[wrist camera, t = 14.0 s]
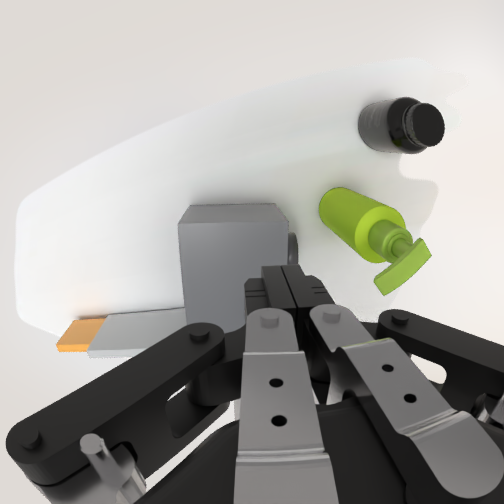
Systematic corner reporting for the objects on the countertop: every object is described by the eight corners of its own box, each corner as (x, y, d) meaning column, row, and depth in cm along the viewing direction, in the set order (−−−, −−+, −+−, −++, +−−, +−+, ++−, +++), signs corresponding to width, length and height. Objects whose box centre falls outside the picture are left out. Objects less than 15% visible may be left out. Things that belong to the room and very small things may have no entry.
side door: (200, 306, 45) (194, 344, 36) (201, 313, 45) (196, 352, 36) (76, 317, 44) (51, 350, 35) (79, 323, 44) (54, 357, 35)
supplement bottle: (376, 161, 40) (423, 169, 29) (347, 120, 38) (389, 114, 27) (408, 133, 39) (460, 135, 28) (381, 94, 37) (430, 82, 26)
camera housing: (283, 300, 46) (298, 342, 35) (196, 302, 45) (188, 346, 35) (287, 203, 41) (306, 223, 31) (189, 205, 40) (176, 225, 30)
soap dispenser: (304, 211, 42) (363, 266, 23) (342, 178, 40) (427, 208, 22) (329, 242, 43) (396, 313, 24) (366, 211, 42) (453, 260, 23)
